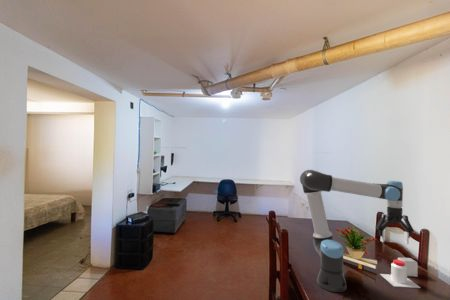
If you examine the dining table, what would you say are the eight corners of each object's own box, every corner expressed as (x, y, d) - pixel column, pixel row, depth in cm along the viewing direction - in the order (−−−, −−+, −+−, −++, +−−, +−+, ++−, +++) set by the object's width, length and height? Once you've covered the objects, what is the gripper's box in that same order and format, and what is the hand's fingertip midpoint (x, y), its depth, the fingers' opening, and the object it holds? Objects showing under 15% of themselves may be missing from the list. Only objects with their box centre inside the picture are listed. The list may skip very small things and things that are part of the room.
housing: (403, 275, 148) (403, 261, 149) (397, 271, 154) (397, 257, 155) (417, 276, 148) (417, 262, 148) (410, 271, 154) (410, 257, 154)
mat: (394, 286, 136) (394, 286, 136) (380, 274, 149) (380, 273, 149) (420, 288, 134) (420, 287, 135) (403, 275, 148) (403, 275, 148)
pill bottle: (391, 275, 147) (391, 257, 148) (407, 279, 143) (407, 261, 143) (390, 280, 141) (390, 261, 142) (406, 285, 137) (406, 265, 137)
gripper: (376, 207, 142) (375, 243, 142) (421, 209, 140) (420, 246, 140) (369, 204, 150) (369, 238, 149) (412, 206, 148) (412, 241, 147)
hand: (394, 242), depth 145 cm, fingers open, 13 cm apart
